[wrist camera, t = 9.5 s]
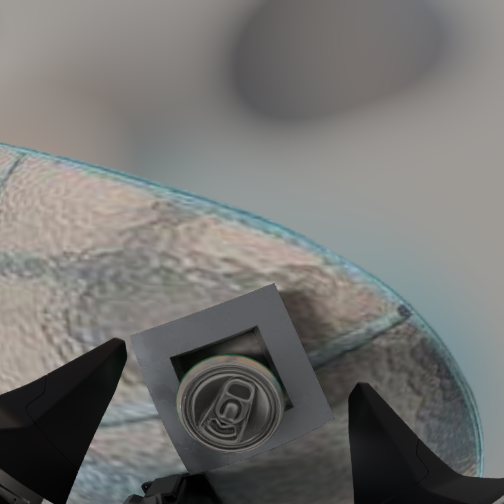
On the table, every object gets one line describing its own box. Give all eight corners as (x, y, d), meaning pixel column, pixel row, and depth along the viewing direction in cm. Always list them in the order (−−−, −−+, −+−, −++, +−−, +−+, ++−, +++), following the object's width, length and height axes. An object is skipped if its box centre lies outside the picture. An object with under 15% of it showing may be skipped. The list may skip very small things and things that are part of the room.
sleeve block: (320, 411, 20) (334, 418, 17) (195, 460, 18) (190, 474, 15) (268, 293, 24) (274, 283, 21) (142, 339, 22) (129, 335, 18)
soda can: (190, 396, 20) (153, 432, 9) (213, 345, 22) (198, 334, 11) (245, 419, 20) (262, 474, 9) (268, 367, 22) (307, 378, 11)
